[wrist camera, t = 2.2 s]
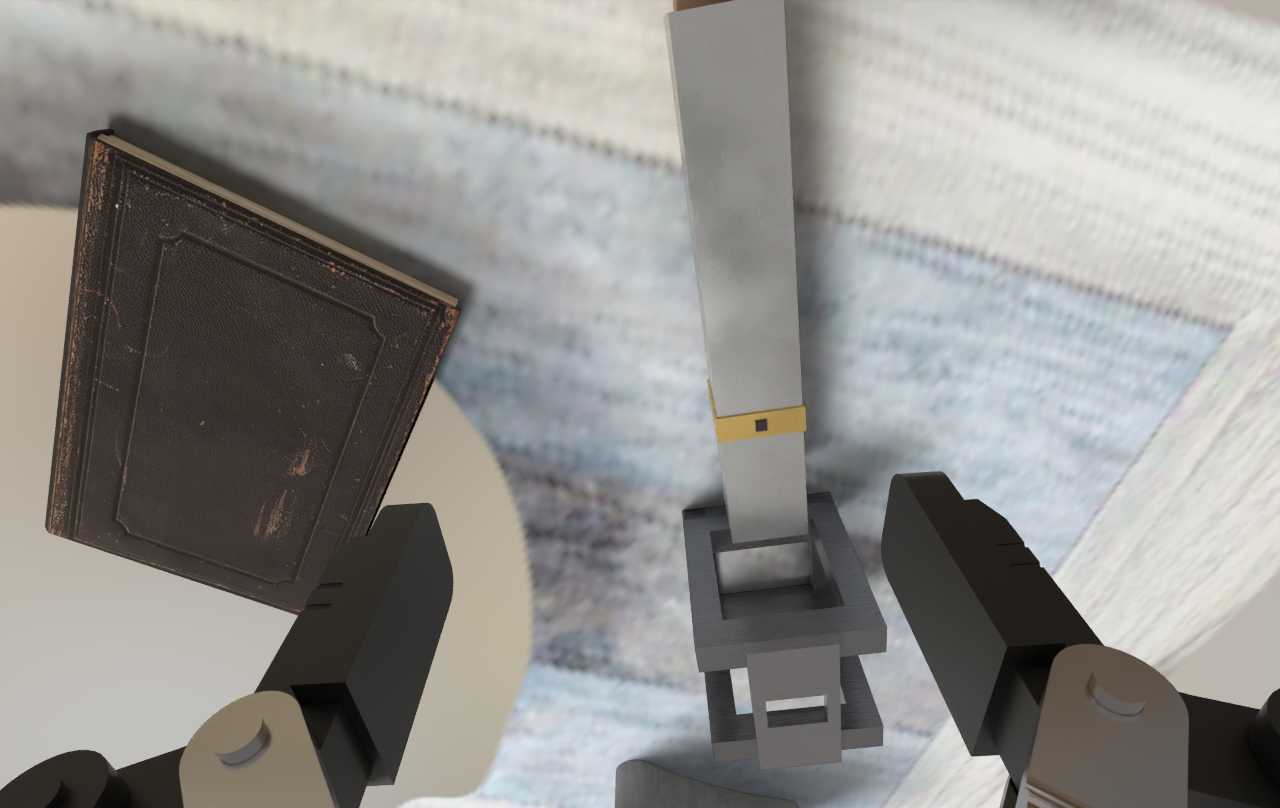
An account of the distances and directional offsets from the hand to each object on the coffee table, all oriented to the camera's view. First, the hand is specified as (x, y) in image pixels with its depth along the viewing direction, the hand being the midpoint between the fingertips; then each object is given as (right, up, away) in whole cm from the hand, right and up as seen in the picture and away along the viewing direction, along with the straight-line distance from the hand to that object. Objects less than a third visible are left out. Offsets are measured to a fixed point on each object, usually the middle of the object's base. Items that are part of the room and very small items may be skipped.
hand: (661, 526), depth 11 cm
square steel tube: (+4, +7, +17) cm, 19 cm away
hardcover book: (-21, +2, +23) cm, 31 cm away
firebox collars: (+7, -7, +27) cm, 29 cm away
